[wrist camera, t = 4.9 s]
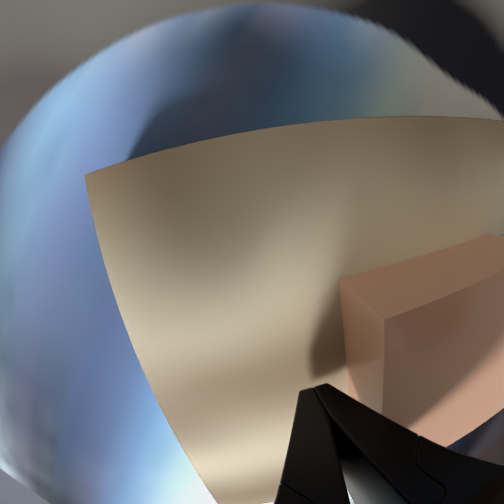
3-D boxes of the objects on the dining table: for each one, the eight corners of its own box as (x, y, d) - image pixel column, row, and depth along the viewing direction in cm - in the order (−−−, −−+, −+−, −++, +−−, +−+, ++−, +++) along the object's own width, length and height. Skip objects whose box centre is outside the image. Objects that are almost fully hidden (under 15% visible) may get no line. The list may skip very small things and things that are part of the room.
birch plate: (502, 364, 12) (525, 382, 10) (220, 470, 12) (221, 508, 9) (512, 130, 9) (546, 127, 7) (118, 177, 9) (84, 174, 6)
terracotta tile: (474, 373, 9) (508, 403, 6) (348, 432, 9) (373, 482, 6) (489, 233, 8) (542, 248, 5) (337, 279, 7) (383, 319, 5)
